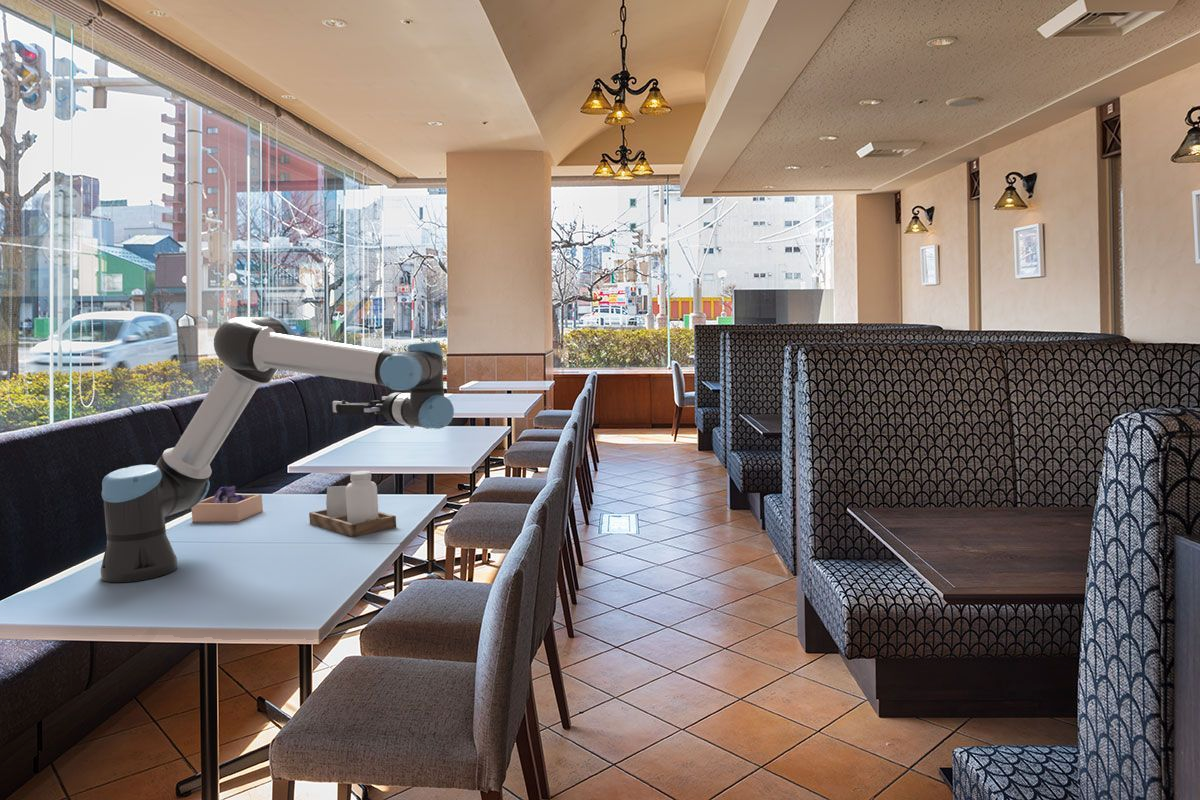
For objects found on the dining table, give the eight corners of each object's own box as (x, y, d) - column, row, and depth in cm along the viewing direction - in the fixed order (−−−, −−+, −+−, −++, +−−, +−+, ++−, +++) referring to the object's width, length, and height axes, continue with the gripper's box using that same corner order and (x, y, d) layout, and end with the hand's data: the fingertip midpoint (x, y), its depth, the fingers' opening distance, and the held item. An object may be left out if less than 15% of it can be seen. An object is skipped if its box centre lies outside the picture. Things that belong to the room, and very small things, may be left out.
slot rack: (396, 527, 226) (395, 514, 225) (353, 537, 217) (352, 523, 217) (351, 514, 243) (350, 503, 243) (309, 523, 234) (308, 511, 234)
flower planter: (238, 521, 240) (237, 503, 240) (192, 521, 242) (191, 504, 242) (262, 510, 253) (261, 494, 253) (218, 511, 255) (217, 494, 254)
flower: (195, 495, 247) (224, 479, 245) (216, 501, 254) (244, 486, 253) (201, 523, 243) (230, 508, 242) (222, 529, 251) (250, 513, 250)
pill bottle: (381, 529, 224) (377, 473, 222) (349, 533, 221) (345, 476, 219) (377, 523, 231) (373, 468, 230) (346, 527, 228) (342, 471, 227)
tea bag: (352, 523, 232) (350, 487, 231) (327, 524, 232) (325, 488, 231) (356, 520, 236) (353, 484, 235) (331, 521, 236) (328, 485, 235)
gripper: (356, 430, 192) (313, 424, 207) (449, 419, 209) (403, 414, 224) (355, 397, 191) (311, 393, 206) (448, 388, 209) (402, 385, 224)
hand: (359, 403), depth 215 cm, fingers open, 13 cm apart
